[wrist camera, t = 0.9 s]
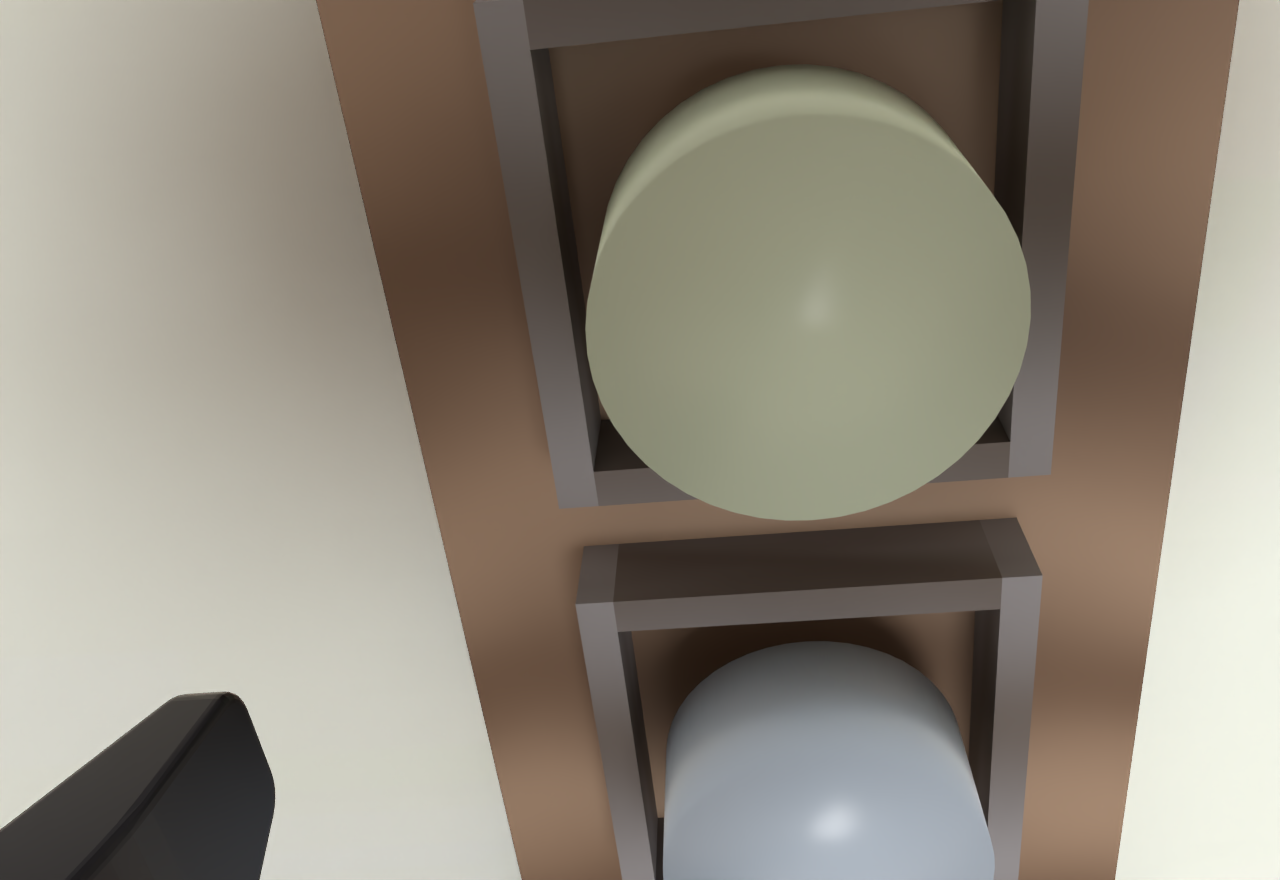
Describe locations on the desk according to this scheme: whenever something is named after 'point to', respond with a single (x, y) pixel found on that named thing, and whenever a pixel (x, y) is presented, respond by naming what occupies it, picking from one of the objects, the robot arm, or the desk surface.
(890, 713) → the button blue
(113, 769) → the robot arm
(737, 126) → the button green
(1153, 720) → the desk surface
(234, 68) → the desk surface
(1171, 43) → the button panel
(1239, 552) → the desk surface
